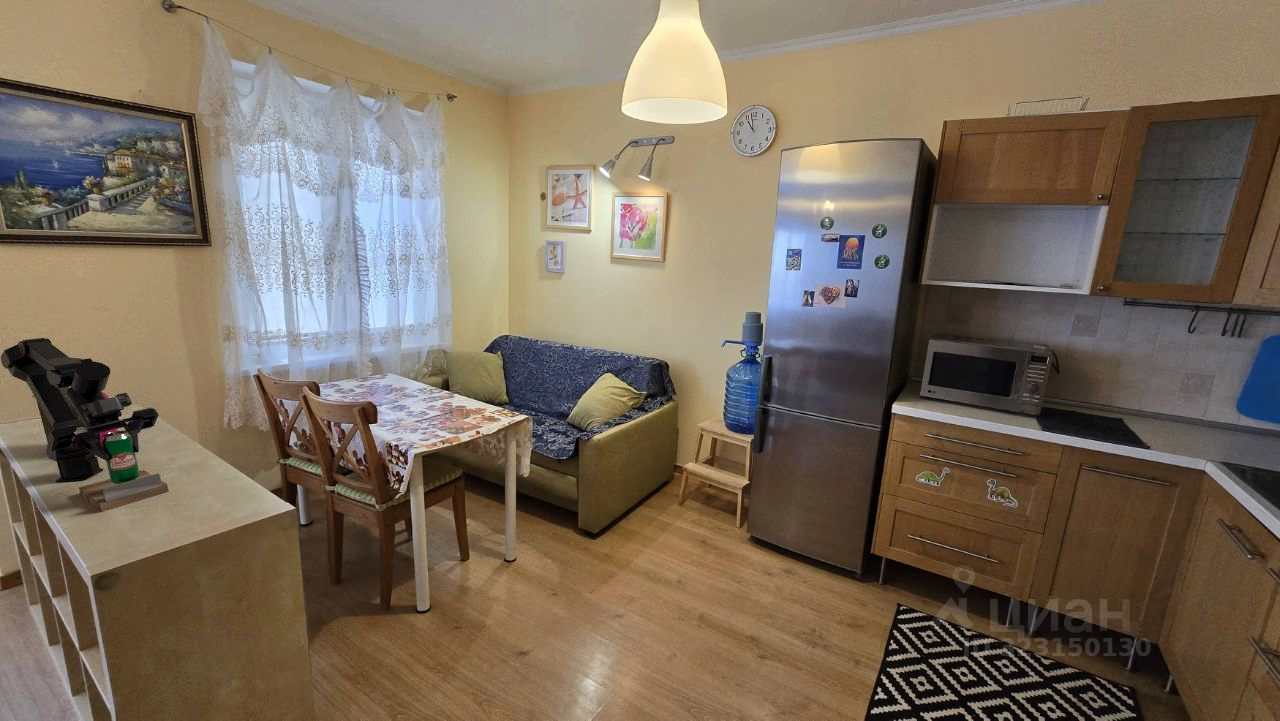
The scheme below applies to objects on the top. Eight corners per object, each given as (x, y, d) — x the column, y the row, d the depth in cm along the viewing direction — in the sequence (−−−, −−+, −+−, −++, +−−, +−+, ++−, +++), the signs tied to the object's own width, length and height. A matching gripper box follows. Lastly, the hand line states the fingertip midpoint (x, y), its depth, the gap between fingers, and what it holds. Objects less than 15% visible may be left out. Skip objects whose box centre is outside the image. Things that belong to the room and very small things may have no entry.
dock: (80, 494, 128) (76, 475, 127) (144, 476, 138) (140, 459, 137) (102, 511, 120) (97, 491, 119) (168, 491, 130) (164, 472, 129)
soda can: (113, 486, 123) (102, 439, 120) (109, 480, 126) (99, 433, 123) (142, 479, 127) (132, 433, 124) (138, 473, 130) (128, 428, 127)
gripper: (40, 395, 114) (74, 451, 112) (147, 376, 131) (179, 425, 129) (33, 423, 119) (66, 477, 117) (137, 402, 136) (168, 449, 134)
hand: (123, 455), depth 124 cm, fingers closed on soda can, 5 cm apart
